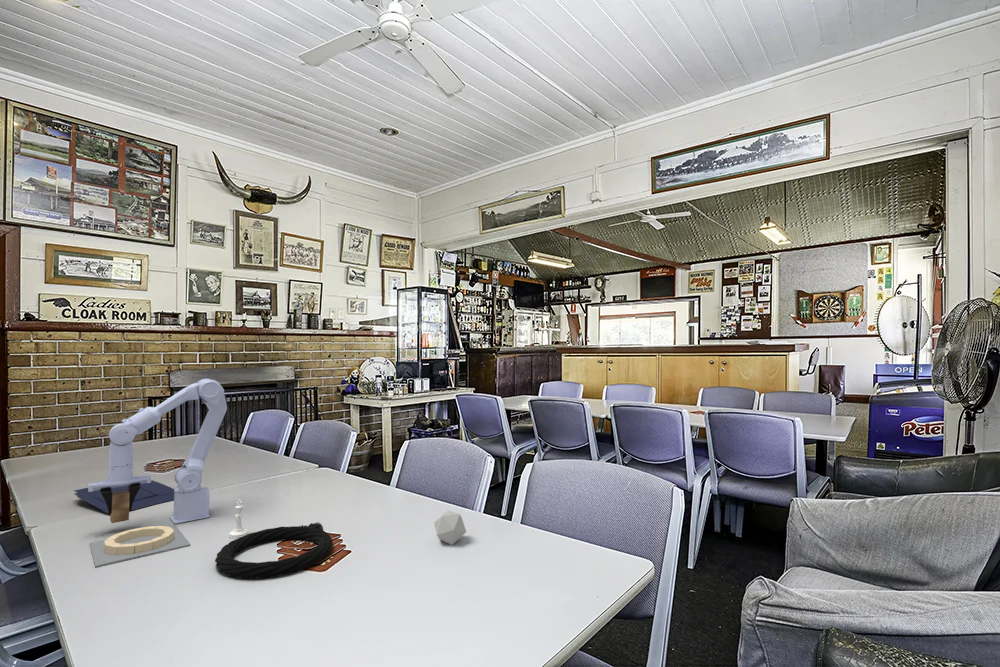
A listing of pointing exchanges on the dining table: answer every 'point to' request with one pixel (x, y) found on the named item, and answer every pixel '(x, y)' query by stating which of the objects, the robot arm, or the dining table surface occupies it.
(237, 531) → the chess piece
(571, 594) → the dining table surface
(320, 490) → the dining table surface
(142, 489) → the dark blue flat plate
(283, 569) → the cable lock
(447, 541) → the die
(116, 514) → the wooden peg
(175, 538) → the bead board
